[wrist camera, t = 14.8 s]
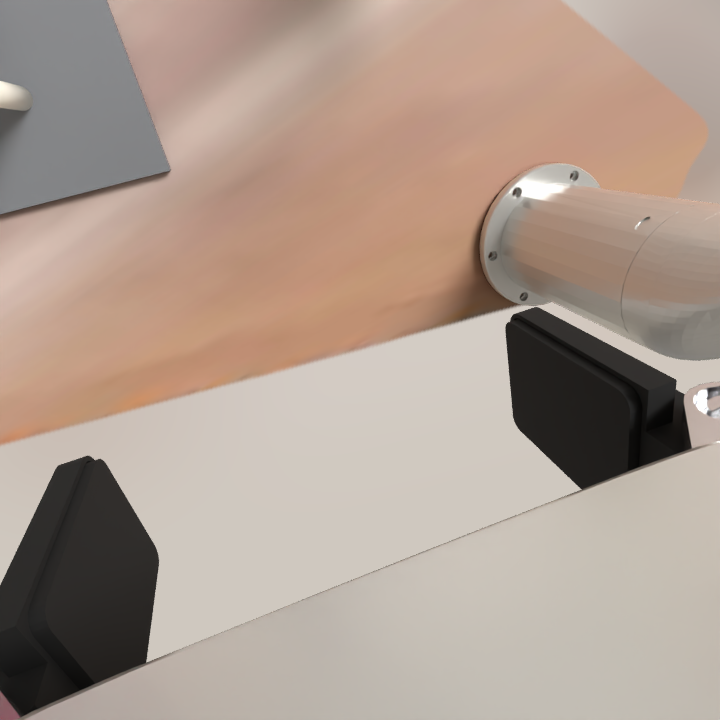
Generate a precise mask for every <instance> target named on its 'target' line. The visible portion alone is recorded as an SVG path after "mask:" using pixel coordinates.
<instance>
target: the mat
mask: <svg viewBox="0 0 720 720" xmlns="http://www.w3.org/2000/svg"><path fill="white" fill-rule="evenodd" d="M0 81H3V82H7V83H11V84H14V85H18V86H22V87H24V88H25V89H27V90H28V91H29V92H30V94H31V95H32V98H33V105H32V107H31V108H30V109H29V110H26V111H20V110H13V109H5V108H0V214H3V213H7V212H11V211H15V210H19V209H22V208H26V207H30V206H34V205H38V204H42V203H46V202H50V201H54V200H57V199H61V198H65V197H69V196H73V195H77V194H81V193H85V192H89V191H92V190H96V189H100V188H104V187H108V186H112V185H116V184H120V183H124V182H127V181H131V180H135V179H139V178H143V177H147V176H151V175H155V174H159V173H162V172H166V171H170V170H171V169H170V166H169V164H168V161H167V158H166V156H165V153H164V150H163V148H162V145H161V143H160V140H159V137H158V135H157V132H156V129H155V127H154V124H153V121H152V119H151V116H150V113H149V111H148V108H147V106H146V103H145V100H144V98H143V95H142V92H141V90H140V87H139V84H138V82H137V79H136V77H135V74H134V71H133V69H132V66H131V63H130V61H129V58H128V55H127V53H126V50H125V48H124V45H123V42H122V40H121V37H120V34H119V32H118V29H117V26H116V24H115V21H114V18H113V16H112V13H111V11H110V8H109V5H108V3H107V0H0Z"/></svg>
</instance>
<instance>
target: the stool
mask: <svg viewBox="0 0 720 720" xmlns="http://www.w3.org/2000/svg"><path fill="white" fill-rule="evenodd" d="M32 105H33V98H32V95H31V94H30V92H29V91H28V90H27V89H25V88H24V87H22V86H18V85H14V84H11V83H7V82H3V81H0V108H5V109H13V110H20V111H26V110H29V109H30V108H31V107H32Z"/></svg>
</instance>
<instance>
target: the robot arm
mask: <svg viewBox="0 0 720 720" xmlns="http://www.w3.org/2000/svg"><path fill="white" fill-rule="evenodd" d="M513 190H514V192H513ZM479 247H480V261H481V264H482V268H483V272H484V274H485V276H486V278H487V280H488V282H489V283H490V285H491V286H492V287H493V288H494V290H495V291H497V292H498V293H499V294H500V295H502V296H503V297H505V298H507V299H509V300H510V301H512V302H515V303H517V304H521V305H529V306H536V305H543V304H547V303H550V302H553V303H556V304H557V305H559V306H562V307H564V308H566V309H568V310H570V311H572V312H574V313H576V314H578V315H580V316H582V317H584V318H586V319H588V320H590V321H592V322H594V323H596V324H599V325H601V326H603V327H605V328H607V329H609V330H611V331H613V332H615V333H617V334H619V335H621V336H623V337H625V338H627V339H630V340H631V341H633V342H635V343H638V344H639V345H642V346H644V347H647V348H648V349H650V350H653V351H655V352H657V353H659V354H662V355H665V356H668V357H672V358H676V359H681V360H698V361H700V360H710V359H718V358H720V204H718V203H707V202H700V201H692V200H685V199H677V198H670V197H662V196H655V195H647V194H639V193H632V192H624V191H617V190H609V189H602V188H601V187H600V186H599V184H598V182H597V181H596V180H595V179H594V178H593V177H592V176H591V174H589V173H588V172H586V171H585V170H583V169H582V168H580V167H577V166H574V165H571V164H564V163H547V164H542V165H539V166H535V167H532V168H530V169H528V170H526V171H524V172H523V173H521V174H519V175H518V176H517V177H515V178H514V179H513V180H512V181H510V182H509V183H508V184H507V185H506V186H505V187H504V189H503V190H502V191H501V192H500V193H499V194H498V196H497V197H496V199H495V200H494V202H493V203H492V205H491V207H490V209H489V211H488V213H487V215H486V218H485V220H484V224H483V228H482V231H481V237H480V246H479ZM489 254H490V255H489ZM506 341H507V353H508V364H509V375H510V386H511V397H512V408H513V418H514V421H515V423H516V425H517V427H518V429H519V430H520V431H521V432H522V433H523V434H524V435H525V436H526V437H527V438H529V440H531V441H532V442H533V443H534V444H535V445H536V446H537V447H538V448H539V449H540V450H541V451H542V452H543V453H544V454H545V455H546V456H547V457H548V458H550V460H551V461H552V462H554V463H555V464H556V465H557V466H558V467H559V468H560V469H561V470H562V471H563V472H564V473H565V474H566V475H567V476H568V477H570V479H571V480H572V481H573V482H574V483H575V484H576V485H578V486H579V487H580V488H581V489H582V490H580V491H577V492H575V493H572V494H570V495H567V496H564V497H562V498H559V499H557V500H554V501H551V502H549V503H546V504H544V505H541V506H539V507H536V508H534V509H531V510H528V511H526V512H523V513H521V514H519V515H516V516H513V517H510V518H508V519H505V520H503V521H500V522H498V523H495V524H493V525H490V526H488V527H485V528H482V529H480V530H477V531H475V532H472V533H469V534H467V535H464V536H462V537H459V538H457V539H454V540H452V541H449V542H447V543H444V544H442V545H439V546H437V547H434V548H432V549H429V550H426V551H424V552H421V553H419V554H416V555H414V556H411V557H409V558H407V559H404V560H401V561H399V562H396V563H394V564H391V565H389V566H386V567H384V568H381V569H378V570H376V571H373V572H371V573H369V574H366V575H364V576H361V577H359V578H356V579H353V580H351V581H348V582H346V583H343V584H341V585H338V586H336V587H333V588H331V589H328V590H326V591H323V592H321V593H318V594H316V595H313V596H311V597H308V598H306V599H303V600H301V601H298V602H296V603H293V604H291V605H288V606H286V607H283V608H281V609H278V610H276V611H274V612H271V613H269V614H266V615H264V616H261V617H259V618H256V619H254V620H251V621H249V622H246V623H244V624H241V625H239V626H236V627H234V628H231V629H229V630H227V631H224V632H221V633H219V634H217V635H214V636H211V637H209V638H207V639H204V640H201V641H199V642H197V643H194V644H192V645H189V646H187V647H185V648H182V649H179V650H177V651H174V652H172V653H169V654H167V655H164V656H162V657H159V658H157V659H154V660H152V661H150V662H147V663H146V659H147V652H148V644H149V636H150V628H151V620H152V613H153V605H154V597H155V590H156V582H157V574H158V566H159V558H158V553H157V550H156V547H155V545H154V543H153V542H152V540H151V538H150V537H149V535H148V533H147V532H146V530H145V529H144V527H143V525H142V523H141V522H140V520H139V518H138V517H137V515H136V513H135V512H134V510H133V508H132V507H131V505H130V503H129V502H128V500H127V498H126V497H125V495H124V493H123V492H122V490H121V488H120V487H119V485H118V483H117V481H116V480H115V478H114V477H113V475H112V473H111V471H110V470H109V468H108V466H107V465H106V463H105V462H104V461H103V460H101V459H98V460H94V459H93V458H92V457H90V456H86V457H82V458H80V459H76V460H74V461H70V462H67V463H64V464H61V465H59V466H58V467H57V468H56V470H55V472H54V474H53V476H52V478H51V480H50V482H49V484H48V486H47V489H46V491H45V493H44V495H43V497H42V499H41V501H40V503H39V505H38V507H37V510H36V512H35V514H34V516H33V518H32V520H31V522H30V524H29V526H28V528H27V531H26V533H25V535H24V537H23V539H22V541H21V543H20V545H19V547H18V549H17V552H16V554H15V556H14V558H13V560H12V562H11V564H10V566H9V568H8V570H7V573H6V575H5V577H4V579H3V581H2V583H1V585H0V720H720V382H710V383H704V384H699V385H697V386H695V387H693V388H691V389H689V390H688V391H687V393H686V394H683V393H681V392H679V391H677V390H676V379H674V378H672V377H670V376H668V375H666V374H664V373H662V372H660V371H658V370H657V369H655V368H653V367H651V366H649V365H647V364H645V363H643V362H641V361H639V360H637V359H635V358H634V357H632V356H630V355H628V354H626V353H624V352H622V351H620V350H618V349H617V348H615V347H613V346H611V345H609V344H607V343H605V342H603V341H601V340H599V339H597V338H596V337H594V336H592V335H590V334H588V333H586V332H584V331H582V330H580V329H578V328H577V327H575V326H573V325H571V324H569V323H567V322H565V321H563V320H561V319H559V318H558V317H555V316H554V315H552V314H550V313H548V312H546V311H544V310H542V309H540V308H538V307H535V308H531V309H528V310H525V311H523V312H519V313H516V314H514V315H513V316H512V317H511V321H510V322H508V323H507V324H506Z"/></svg>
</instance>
